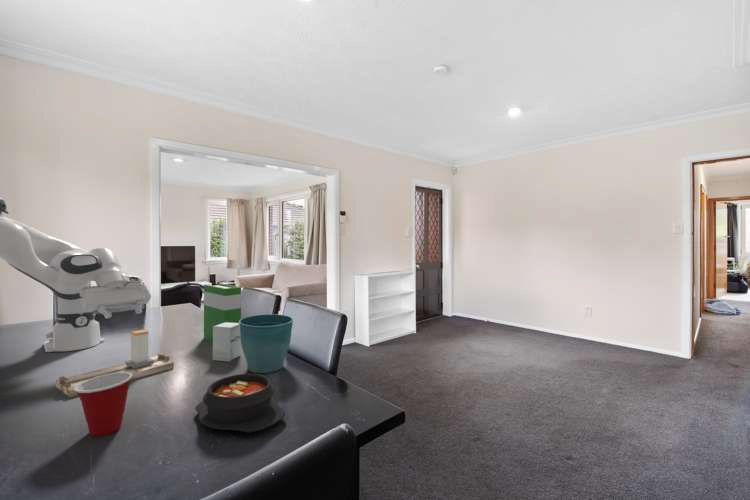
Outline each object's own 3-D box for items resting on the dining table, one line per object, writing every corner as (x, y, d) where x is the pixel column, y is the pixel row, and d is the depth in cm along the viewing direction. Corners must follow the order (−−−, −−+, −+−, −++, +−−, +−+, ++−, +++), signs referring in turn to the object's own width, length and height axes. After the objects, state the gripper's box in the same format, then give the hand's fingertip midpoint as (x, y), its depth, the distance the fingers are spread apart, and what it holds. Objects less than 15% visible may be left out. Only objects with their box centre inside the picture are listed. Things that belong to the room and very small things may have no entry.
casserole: (302, 415, 91) (302, 383, 90) (240, 452, 75) (240, 413, 75) (239, 392, 104) (239, 363, 104) (175, 418, 88) (175, 385, 88)
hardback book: (203, 338, 157) (203, 284, 157) (219, 334, 163) (219, 283, 162) (224, 346, 146) (224, 288, 146) (240, 342, 152) (241, 287, 152)
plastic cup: (96, 418, 87) (96, 370, 87) (142, 417, 88) (142, 370, 88) (61, 444, 76) (60, 389, 76) (114, 442, 77) (113, 388, 77)
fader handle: (125, 364, 117) (125, 331, 117) (145, 359, 122) (145, 328, 122) (133, 368, 114) (133, 334, 113) (153, 363, 119) (153, 331, 118)
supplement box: (230, 361, 128) (230, 327, 128) (211, 360, 130) (212, 326, 129) (241, 355, 135) (241, 322, 135) (224, 353, 137) (224, 321, 137)
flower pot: (302, 362, 129) (303, 316, 128) (272, 381, 112) (273, 328, 111) (261, 356, 135) (261, 312, 134) (226, 373, 118) (227, 322, 117)
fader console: (56, 386, 105) (55, 374, 105) (156, 360, 128) (156, 351, 128) (70, 397, 98) (69, 384, 98) (173, 368, 121) (173, 357, 121)
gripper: (79, 281, 120) (91, 314, 115) (145, 277, 137) (158, 305, 132) (75, 293, 122) (85, 325, 117) (140, 287, 139) (152, 315, 134)
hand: (124, 314), depth 125 cm, fingers open, 8 cm apart
